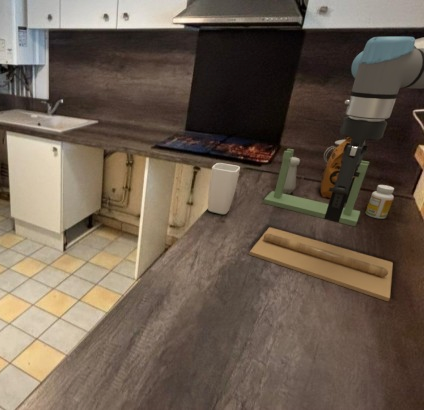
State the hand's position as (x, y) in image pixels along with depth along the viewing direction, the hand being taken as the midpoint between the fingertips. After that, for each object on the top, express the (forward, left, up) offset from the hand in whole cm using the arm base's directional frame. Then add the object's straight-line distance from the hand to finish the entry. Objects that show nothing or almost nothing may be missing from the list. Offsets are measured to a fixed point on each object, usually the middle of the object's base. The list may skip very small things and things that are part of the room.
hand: (336, 210), depth 83 cm
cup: (+30, -12, -14) cm, 35 cm away
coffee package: (+4, -55, -14) cm, 57 cm away
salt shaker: (+18, -46, -14) cm, 51 cm away
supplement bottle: (-9, -43, -14) cm, 46 cm away
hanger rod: (0, +1, -12) cm, 12 cm away
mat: (0, 0, -14) cm, 14 cm away
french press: (+7, -81, -14) cm, 82 cm away
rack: (+8, -34, -14) cm, 37 cm away
